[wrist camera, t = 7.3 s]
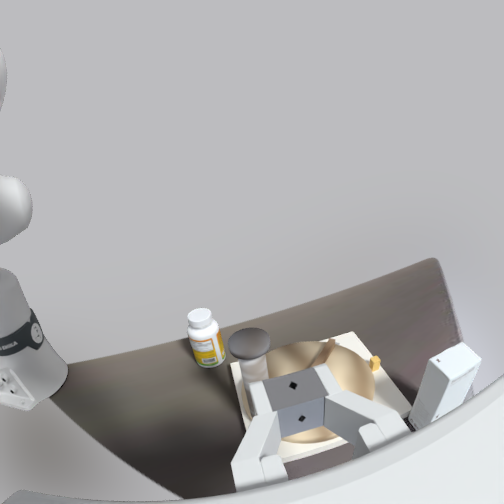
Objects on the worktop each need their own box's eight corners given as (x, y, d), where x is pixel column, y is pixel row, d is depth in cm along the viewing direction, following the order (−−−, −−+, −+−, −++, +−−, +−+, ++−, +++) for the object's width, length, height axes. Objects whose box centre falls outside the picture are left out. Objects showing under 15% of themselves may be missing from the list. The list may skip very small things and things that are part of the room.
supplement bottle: (212, 345, 56) (201, 302, 52) (232, 356, 52) (222, 311, 49) (190, 360, 52) (176, 316, 49) (210, 373, 49) (196, 328, 45)
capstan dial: (257, 460, 31) (238, 387, 25) (233, 364, 48) (216, 289, 43) (397, 413, 33) (419, 331, 28) (341, 336, 51) (342, 262, 45)
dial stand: (256, 469, 31) (252, 457, 30) (231, 369, 49) (228, 354, 48) (411, 414, 34) (416, 399, 32) (352, 337, 52) (353, 322, 51)
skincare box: (422, 440, 29) (449, 380, 25) (406, 419, 33) (427, 358, 29) (454, 420, 30) (483, 358, 26) (438, 401, 34) (461, 339, 30)
